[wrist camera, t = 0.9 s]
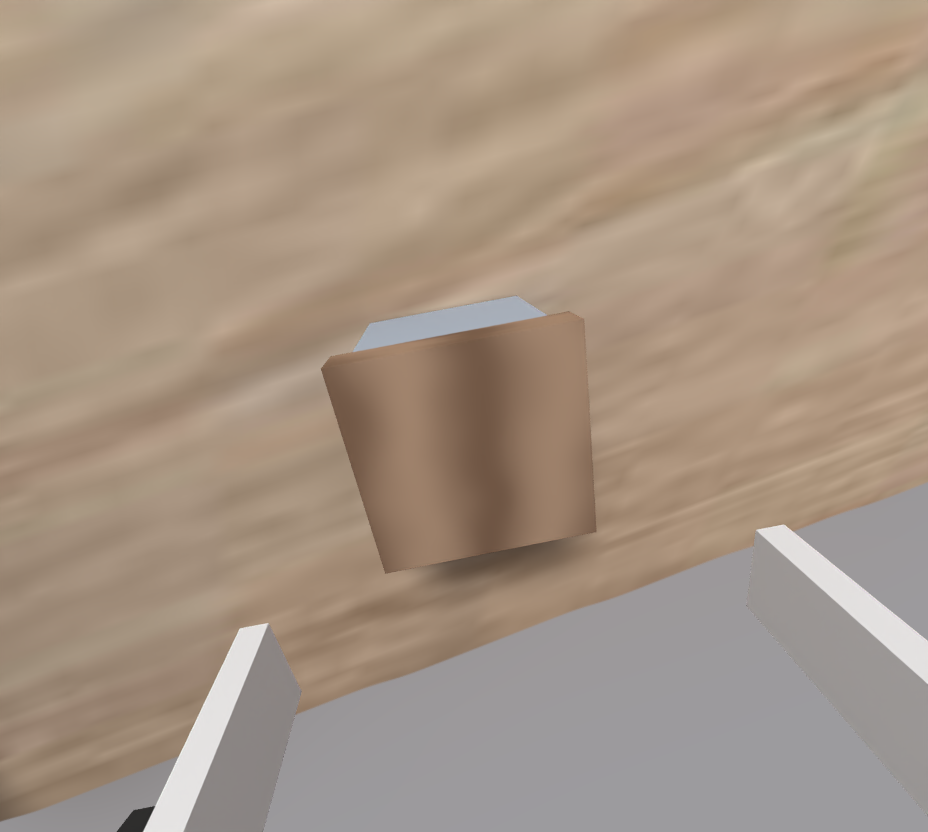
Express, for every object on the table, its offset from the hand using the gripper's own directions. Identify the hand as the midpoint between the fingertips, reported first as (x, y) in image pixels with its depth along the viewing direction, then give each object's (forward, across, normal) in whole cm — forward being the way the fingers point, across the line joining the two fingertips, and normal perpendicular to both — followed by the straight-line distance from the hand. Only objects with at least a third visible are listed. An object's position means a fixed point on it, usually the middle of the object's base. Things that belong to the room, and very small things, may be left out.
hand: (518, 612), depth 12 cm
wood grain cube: (+12, 0, 0) cm, 12 cm away
